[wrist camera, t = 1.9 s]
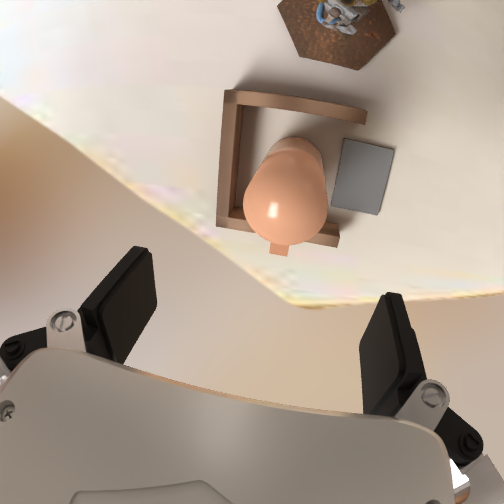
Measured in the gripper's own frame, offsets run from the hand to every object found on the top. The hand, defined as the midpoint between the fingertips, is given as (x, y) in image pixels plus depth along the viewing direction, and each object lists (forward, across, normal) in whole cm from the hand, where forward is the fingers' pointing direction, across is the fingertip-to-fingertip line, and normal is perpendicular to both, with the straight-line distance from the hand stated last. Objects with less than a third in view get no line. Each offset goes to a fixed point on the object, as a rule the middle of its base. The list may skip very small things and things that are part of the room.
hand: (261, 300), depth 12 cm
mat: (+20, -7, 0) cm, 21 cm away
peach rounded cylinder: (+20, 0, +1) cm, 20 cm away
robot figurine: (+20, -2, -15) cm, 25 cm away
